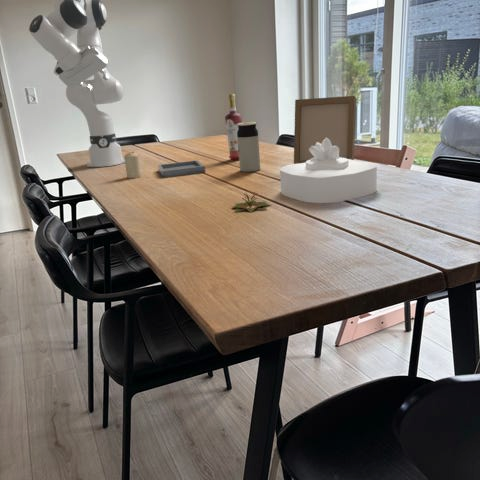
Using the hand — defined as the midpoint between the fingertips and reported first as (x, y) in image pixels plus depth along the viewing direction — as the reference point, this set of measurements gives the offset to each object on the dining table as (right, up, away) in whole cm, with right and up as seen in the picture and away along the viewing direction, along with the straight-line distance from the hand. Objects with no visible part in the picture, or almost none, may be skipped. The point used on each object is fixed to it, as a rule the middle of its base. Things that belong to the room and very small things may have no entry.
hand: (99, 84), depth 180 cm
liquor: (+54, -25, +28) cm, 65 cm away
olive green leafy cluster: (+58, -52, -51) cm, 93 cm away
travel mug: (+59, -34, +1) cm, 68 cm away
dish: (+31, -32, +10) cm, 46 cm away
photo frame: (+88, -32, -1) cm, 94 cm away
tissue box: (+81, -46, -40) cm, 102 cm away
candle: (+12, -35, +7) cm, 38 cm away
